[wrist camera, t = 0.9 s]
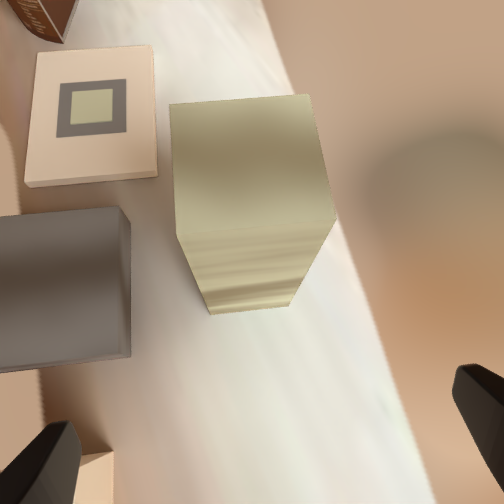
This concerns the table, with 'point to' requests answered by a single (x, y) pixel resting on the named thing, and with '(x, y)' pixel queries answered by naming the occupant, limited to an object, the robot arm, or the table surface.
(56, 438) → the robot arm
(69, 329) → the slate slab
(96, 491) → the ivory cube
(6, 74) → the table surface
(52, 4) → the food container
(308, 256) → the sage block
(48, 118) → the card
